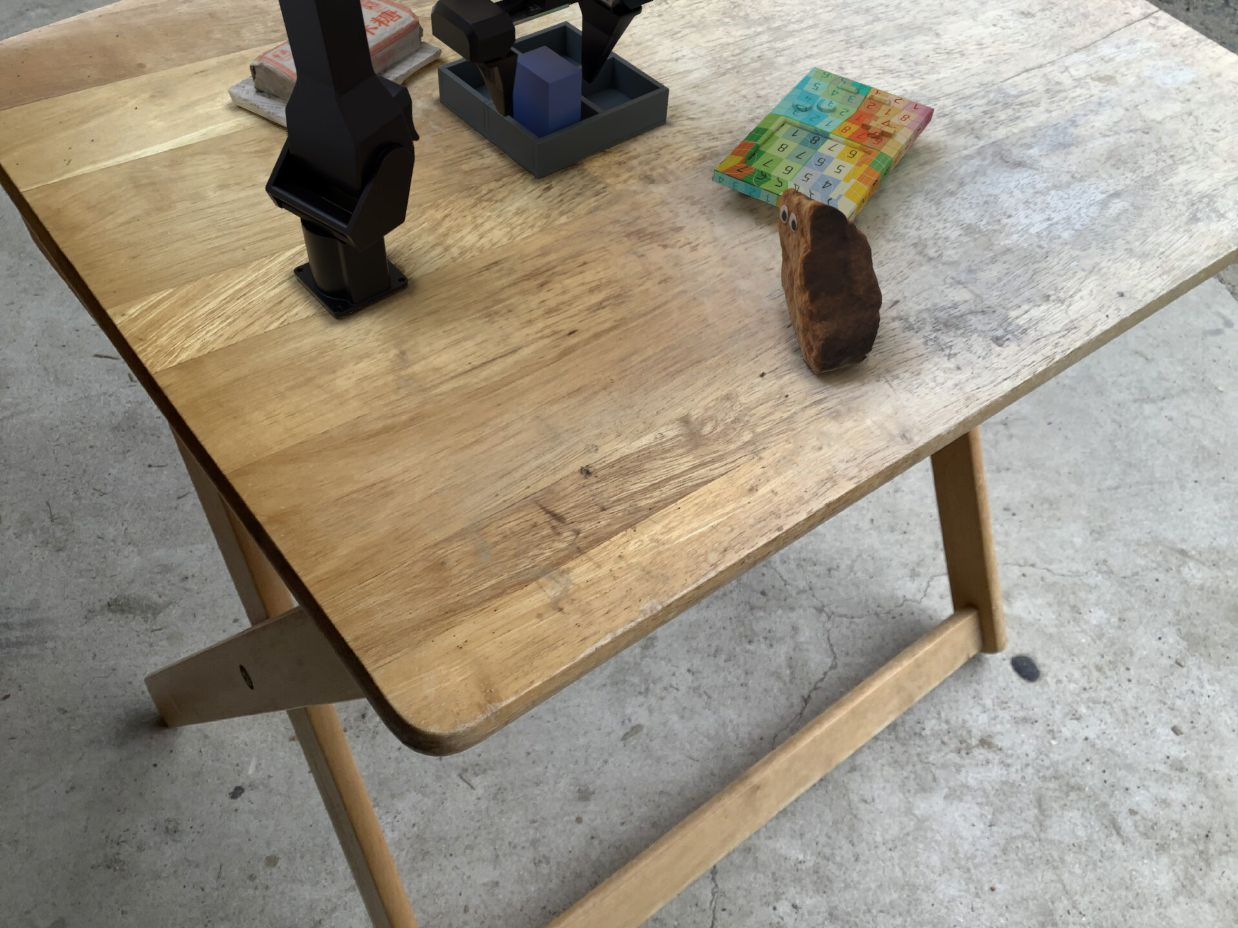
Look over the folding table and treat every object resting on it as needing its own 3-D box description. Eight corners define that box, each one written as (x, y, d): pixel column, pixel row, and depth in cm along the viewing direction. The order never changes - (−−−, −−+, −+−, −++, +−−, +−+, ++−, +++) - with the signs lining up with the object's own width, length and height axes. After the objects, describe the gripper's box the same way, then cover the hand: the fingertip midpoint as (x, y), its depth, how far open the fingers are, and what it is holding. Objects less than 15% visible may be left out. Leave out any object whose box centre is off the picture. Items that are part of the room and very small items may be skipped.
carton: (579, 144, 96) (582, 70, 91) (548, 157, 94) (548, 83, 89) (544, 118, 98) (545, 45, 93) (513, 131, 97) (512, 57, 91)
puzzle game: (937, 99, 96) (847, 211, 85) (923, 145, 100) (835, 259, 88) (817, 57, 100) (715, 160, 88) (807, 103, 103) (708, 208, 92)
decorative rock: (756, 278, 86) (779, 161, 78) (829, 272, 87) (859, 156, 79) (800, 385, 79) (830, 268, 71) (879, 377, 80) (918, 261, 72)
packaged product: (358, -21, 105) (439, 12, 101) (364, 28, 108) (443, 60, 105) (217, 55, 94) (303, 94, 91) (229, 106, 98) (312, 144, 95)
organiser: (666, 123, 100) (669, 88, 97) (538, 179, 93) (538, 143, 91) (565, 55, 107) (566, 20, 104) (439, 102, 100) (437, 67, 98)
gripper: (576, -153, 90) (572, 28, 101) (381, -101, 81) (401, 89, 93) (667, -105, 84) (651, 80, 96) (469, -44, 76) (478, 150, 88)
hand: (546, 97), depth 93 cm, fingers open, 9 cm apart
